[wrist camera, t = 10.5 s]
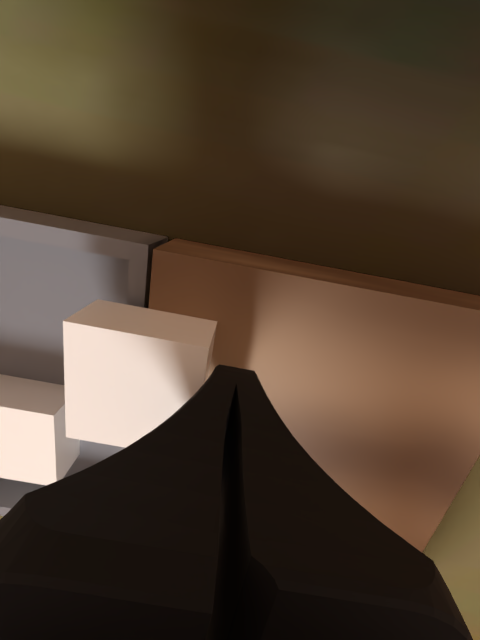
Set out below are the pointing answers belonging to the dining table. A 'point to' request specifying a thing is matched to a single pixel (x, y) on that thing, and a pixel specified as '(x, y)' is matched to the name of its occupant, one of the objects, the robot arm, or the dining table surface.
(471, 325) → the board
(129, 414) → the tile
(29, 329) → the tray
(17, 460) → the tile
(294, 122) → the dining table surface
